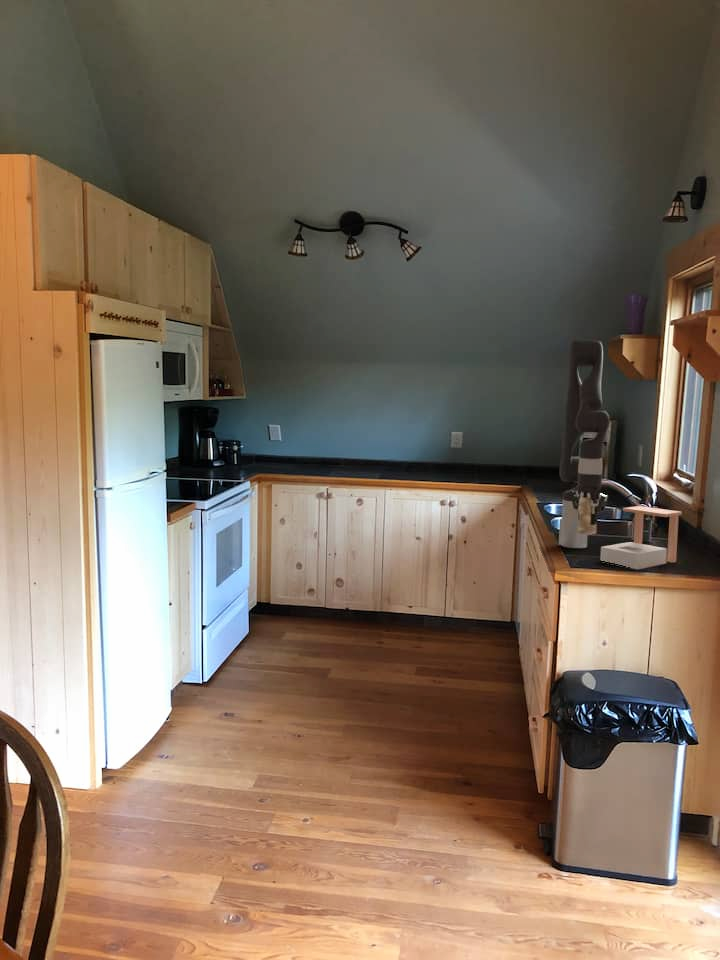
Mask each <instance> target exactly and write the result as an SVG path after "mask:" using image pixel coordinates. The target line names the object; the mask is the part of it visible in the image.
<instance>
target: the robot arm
mask: <svg viewBox="0 0 720 960" xmlns="http://www.w3.org/2000/svg"><path fill="white" fill-rule="evenodd" d="M603 348H604V346H603V344H602V342H601V341H600V340H595V339H594V340H593V339H573V340H572V341H571V343H570V346H569V352H568V380H567V381H568V383H567V393H566V403H565V411H564V428H563V429H564V431H563V441H562V448H561V449H562V450H561V456H560V463H559V477H560V479H561V481H562V482H570V483H572V482H576V483H577V485H576V486H575V487H573V488H571V489H569V490H568V489H567V490H565V491H564V492H563V494H562V512H561V519H559V526H558V527H559V530H558V531H559V532H558V533H559V534H558V535H559V536H558V545H559V546H561V547H563V548H569V549H585V548H587V547H588V535H586V534H581V533H578V530H579V507H580V497H586V498H590V499H591V502H590V506H591V512H592V514H591V525H596V523H597V524H598V519H599V513H604V512H605V509H606V505H607V503H608V501H609V497H610V496H609V495H608V494H606V495H605V494H603V493H602V491H601V488H602V486H603V485H602V483H603V447H604V441H605V437H606V435H607V432H608V429H609V426H610V423H611V422H610V421H611V419H610V415H609V413H608V412H607V411H605V410H601V408H602V407H603V397H602V379H603V378H602V376H603V366H604V365H603V363H604V349H603ZM581 367H582V368H583V367H585V368H592V370H591V371H590V372H589V374H588V375H586V378H584V380H583V381H582V380H581V377H580V375H579V368H581ZM585 433H596V435H595V436H594V437H592V438H587V439H584V440H581V442H580V445H579V456H573V452H574V449H575V447H576V445H577V443H578V442H579V440H580V439H581V437H583V435H584V434H585ZM595 502H596V504H593V503H595Z"/></svg>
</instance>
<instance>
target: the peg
mask: <svg viewBox="0 0 720 960" xmlns="http://www.w3.org/2000/svg"><path fill="white" fill-rule="evenodd" d="M590 502H591V499H590V498H586V497H580V507H579V530H578V533H581V534H586V535H587V536H590V535H596V534H597V524H598V522H597V523H596V525H591V514H592V512H591V506H590ZM593 504H596V502H595V503H593Z"/></svg>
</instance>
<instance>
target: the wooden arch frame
mask: <svg viewBox="0 0 720 960" xmlns="http://www.w3.org/2000/svg"><path fill="white" fill-rule="evenodd" d="M622 511H623V512H627V513H628V512H629V513H633V514H634V517H635V526H634V541H633V543H639V544H643V543H642V537H643V517H644V514H647V515H650V516H655V517H663V518H668V517H669V520H668V521H669V522H668V523H669V524H668V537H667V538H668V540H667V556H666V563H668V562H669V563H676V562H677V550H678V533H679V532H678V530H679V517H680V516H681V515H683V512H682V511H680V510H673V509H672V510H671V509H664V508H656V507H651V506H650V507H649V506H642V505H637V506H629V507H622Z"/></svg>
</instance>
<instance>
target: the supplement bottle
mask: <svg viewBox="0 0 720 960" xmlns="http://www.w3.org/2000/svg"><path fill="white" fill-rule="evenodd" d="M650 516H651V515H647V514H644V517H643V537H642V542H649V543H651V539H652V528H653V527H652V525H653V520H652V518H651V517H650ZM634 526H635V516H634V517H633V519H632V529H631V531H632V532H631V541H632V540H633V541H632V542H634Z"/></svg>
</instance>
